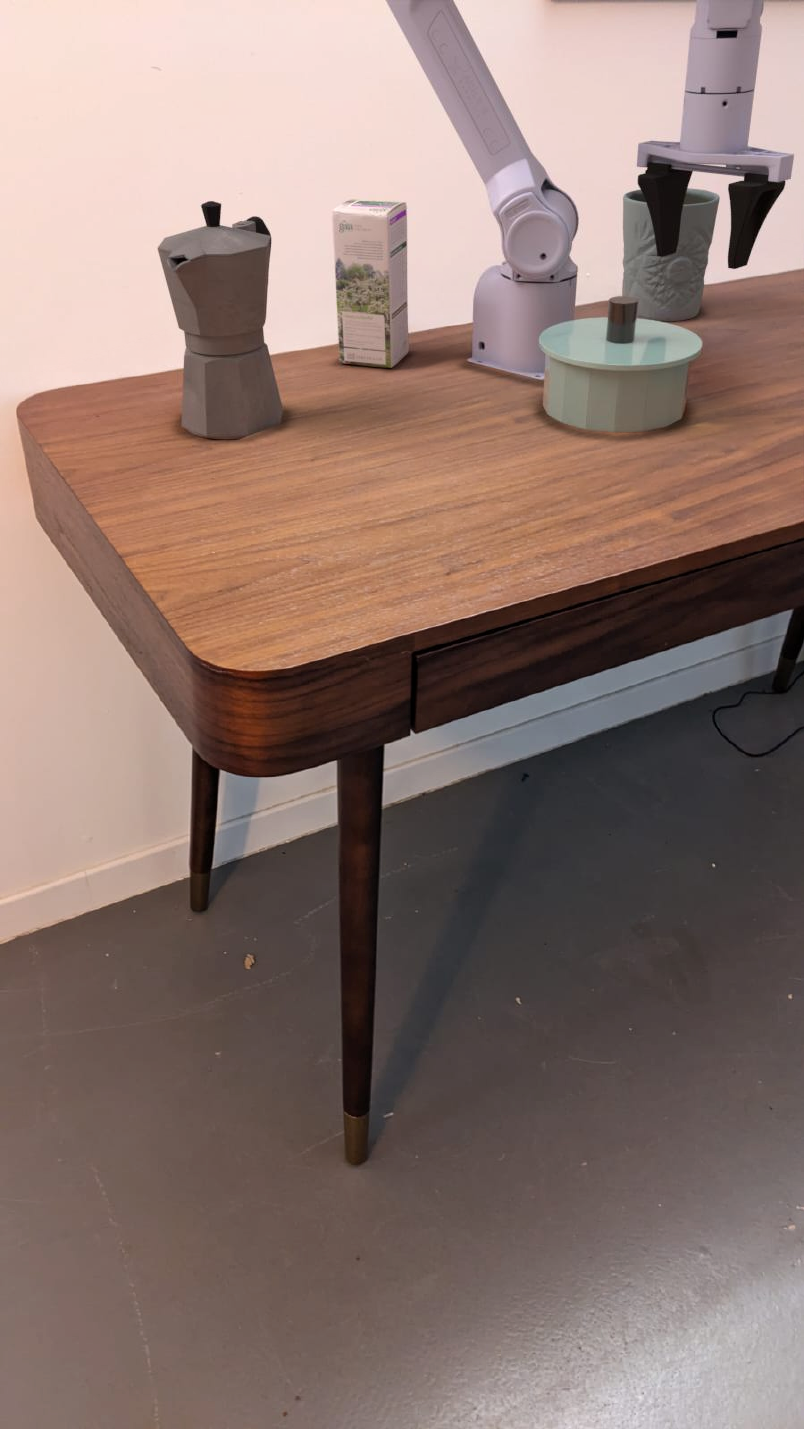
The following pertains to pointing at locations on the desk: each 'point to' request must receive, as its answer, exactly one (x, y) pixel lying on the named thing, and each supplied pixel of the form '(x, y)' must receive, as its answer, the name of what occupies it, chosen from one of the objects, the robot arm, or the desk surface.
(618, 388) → the pot
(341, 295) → the syrup box
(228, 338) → the coffeepot
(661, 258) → the drinking glass
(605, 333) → the lid
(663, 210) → the robot arm
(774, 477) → the desk surface
